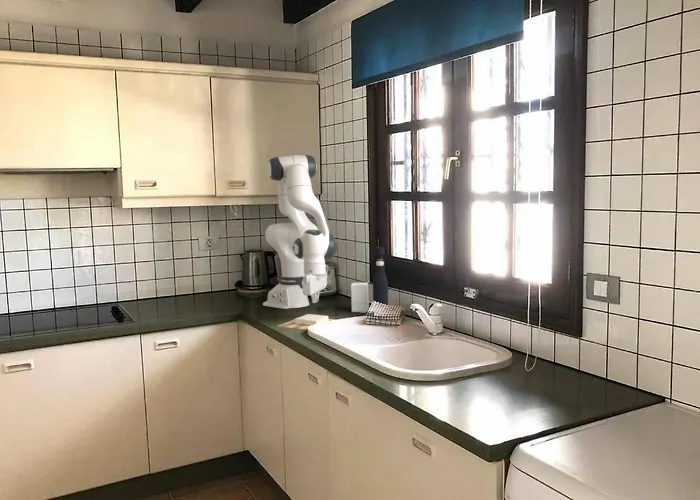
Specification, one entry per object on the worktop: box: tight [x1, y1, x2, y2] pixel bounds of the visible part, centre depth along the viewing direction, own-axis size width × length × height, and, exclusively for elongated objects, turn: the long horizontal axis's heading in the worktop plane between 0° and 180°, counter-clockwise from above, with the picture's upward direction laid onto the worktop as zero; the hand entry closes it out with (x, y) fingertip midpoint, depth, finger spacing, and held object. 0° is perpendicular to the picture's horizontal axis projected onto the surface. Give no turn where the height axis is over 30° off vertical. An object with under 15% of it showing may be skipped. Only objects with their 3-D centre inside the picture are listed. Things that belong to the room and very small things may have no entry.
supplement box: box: [350, 282, 370, 314], centre depth 290 cm, size 7×7×13 cm
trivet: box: [278, 318, 337, 330], centre depth 266 cm, size 20×20×1 cm
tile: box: [294, 313, 329, 326], centre depth 267 cm, size 10×2×10 cm
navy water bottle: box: [372, 246, 389, 306], centre depth 277 cm, size 6×6×30 cm
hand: (315, 302), depth 269 cm, fingers closed
